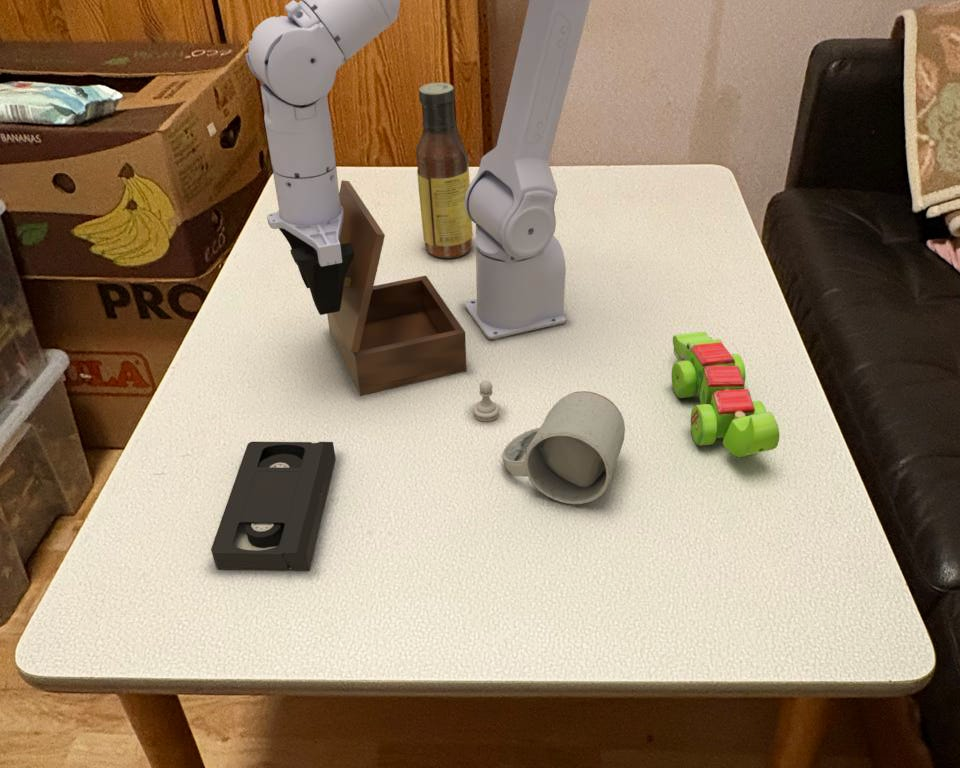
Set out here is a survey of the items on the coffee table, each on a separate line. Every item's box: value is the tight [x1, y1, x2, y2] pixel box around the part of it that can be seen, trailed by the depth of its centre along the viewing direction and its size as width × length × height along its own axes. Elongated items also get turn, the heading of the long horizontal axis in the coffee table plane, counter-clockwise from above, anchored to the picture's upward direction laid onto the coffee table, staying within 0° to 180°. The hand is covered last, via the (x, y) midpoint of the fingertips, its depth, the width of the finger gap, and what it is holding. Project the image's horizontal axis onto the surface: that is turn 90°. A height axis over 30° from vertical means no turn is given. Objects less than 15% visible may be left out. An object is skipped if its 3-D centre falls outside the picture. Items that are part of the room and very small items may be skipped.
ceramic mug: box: [501, 390, 626, 505], centre depth 81 cm, size 11×8×8 cm
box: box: [326, 275, 467, 396], centre depth 97 cm, size 12×13×5 cm
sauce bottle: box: [415, 82, 474, 259], centre depth 109 cm, size 6×6×20 cm
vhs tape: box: [210, 441, 336, 571], centre depth 80 cm, size 14×8×2 cm, turn 178°
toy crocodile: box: [671, 331, 780, 458], centre depth 88 cm, size 20×7×6 cm, turn 5°
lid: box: [331, 179, 386, 353], centre depth 89 cm, size 12×13×4 cm
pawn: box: [472, 379, 500, 422], centre depth 89 cm, size 3×3×4 cm
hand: (322, 297), depth 91 cm, fingers closed on lid, 5 cm apart
